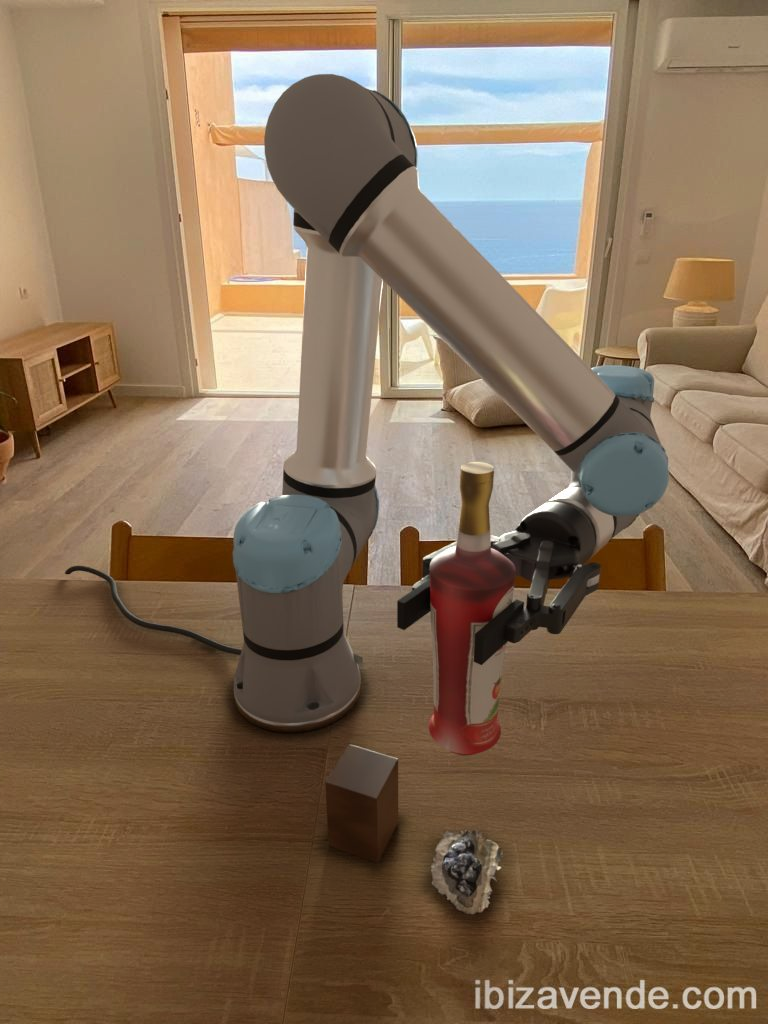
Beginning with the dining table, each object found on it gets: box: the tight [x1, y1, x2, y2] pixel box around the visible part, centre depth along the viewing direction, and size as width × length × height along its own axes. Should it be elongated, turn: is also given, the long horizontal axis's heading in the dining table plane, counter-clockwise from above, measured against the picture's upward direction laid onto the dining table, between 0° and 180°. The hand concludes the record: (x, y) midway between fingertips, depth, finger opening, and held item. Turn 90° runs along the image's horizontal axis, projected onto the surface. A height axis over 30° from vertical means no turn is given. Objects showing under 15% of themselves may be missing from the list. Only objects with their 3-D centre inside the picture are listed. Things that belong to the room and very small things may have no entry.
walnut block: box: [324, 743, 399, 864], centre depth 64 cm, size 5×5×8 cm
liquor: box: [428, 461, 517, 756], centre depth 61 cm, size 7×7×28 cm
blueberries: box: [430, 828, 504, 916], centre depth 61 cm, size 7×8×2 cm
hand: (438, 631), depth 57 cm, fingers closed on liquor, 7 cm apart
